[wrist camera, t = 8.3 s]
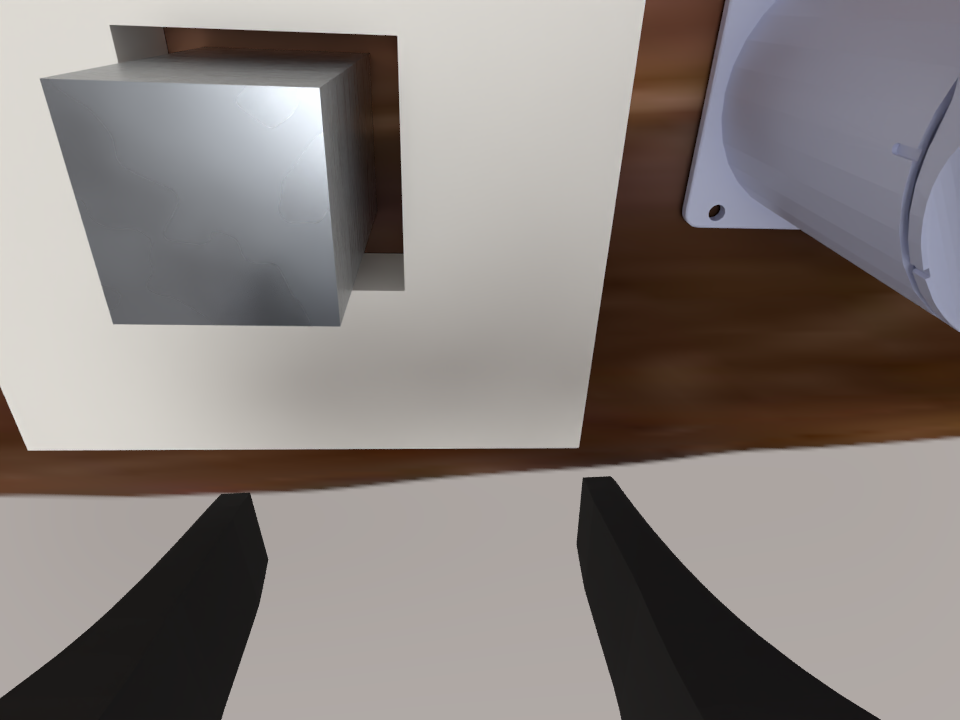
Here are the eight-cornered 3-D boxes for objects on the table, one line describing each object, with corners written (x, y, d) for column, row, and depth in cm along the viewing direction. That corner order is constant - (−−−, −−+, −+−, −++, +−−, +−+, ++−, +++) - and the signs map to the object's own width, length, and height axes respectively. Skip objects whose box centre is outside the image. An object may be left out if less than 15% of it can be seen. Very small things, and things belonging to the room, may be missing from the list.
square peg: (369, 53, 17) (319, 87, 10) (377, 210, 19) (340, 326, 12) (205, 46, 17) (39, 78, 10) (232, 207, 19) (112, 324, 12)
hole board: (644, -240, 14) (689, -293, 12) (563, 398, 23) (578, 447, 21) (-175, -295, 13) (-325, -367, 11) (76, 398, 22) (28, 450, 20)
